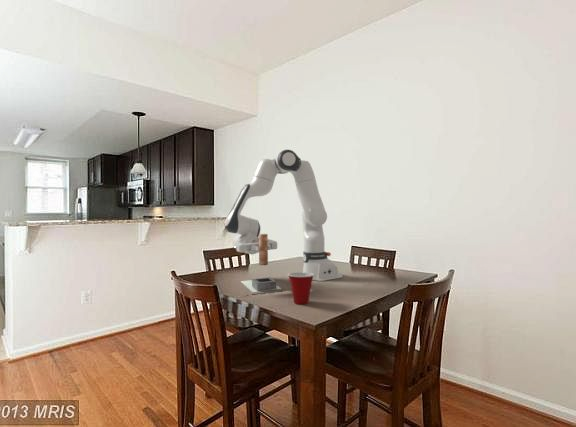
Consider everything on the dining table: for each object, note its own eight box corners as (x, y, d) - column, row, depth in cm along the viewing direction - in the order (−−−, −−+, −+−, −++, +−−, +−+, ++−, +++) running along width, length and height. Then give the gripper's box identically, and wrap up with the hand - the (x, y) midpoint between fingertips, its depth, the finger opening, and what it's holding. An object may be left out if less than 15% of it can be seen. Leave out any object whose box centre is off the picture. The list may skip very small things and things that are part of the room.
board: (266, 281, 170) (266, 271, 170) (282, 291, 150) (281, 281, 150) (240, 284, 165) (240, 274, 165) (252, 295, 145) (252, 284, 145)
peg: (266, 263, 154) (266, 233, 154) (269, 264, 151) (268, 234, 150) (258, 264, 153) (257, 234, 153) (260, 265, 149) (260, 234, 149)
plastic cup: (314, 298, 139) (314, 270, 138) (314, 306, 128) (313, 276, 128) (289, 298, 140) (288, 270, 139) (286, 306, 129) (286, 275, 129)
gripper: (231, 240, 157) (243, 242, 145) (269, 237, 168) (282, 239, 156) (231, 253, 157) (243, 257, 145) (269, 249, 168) (283, 253, 156)
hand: (264, 248), depth 151 cm, fingers closed on peg, 4 cm apart
